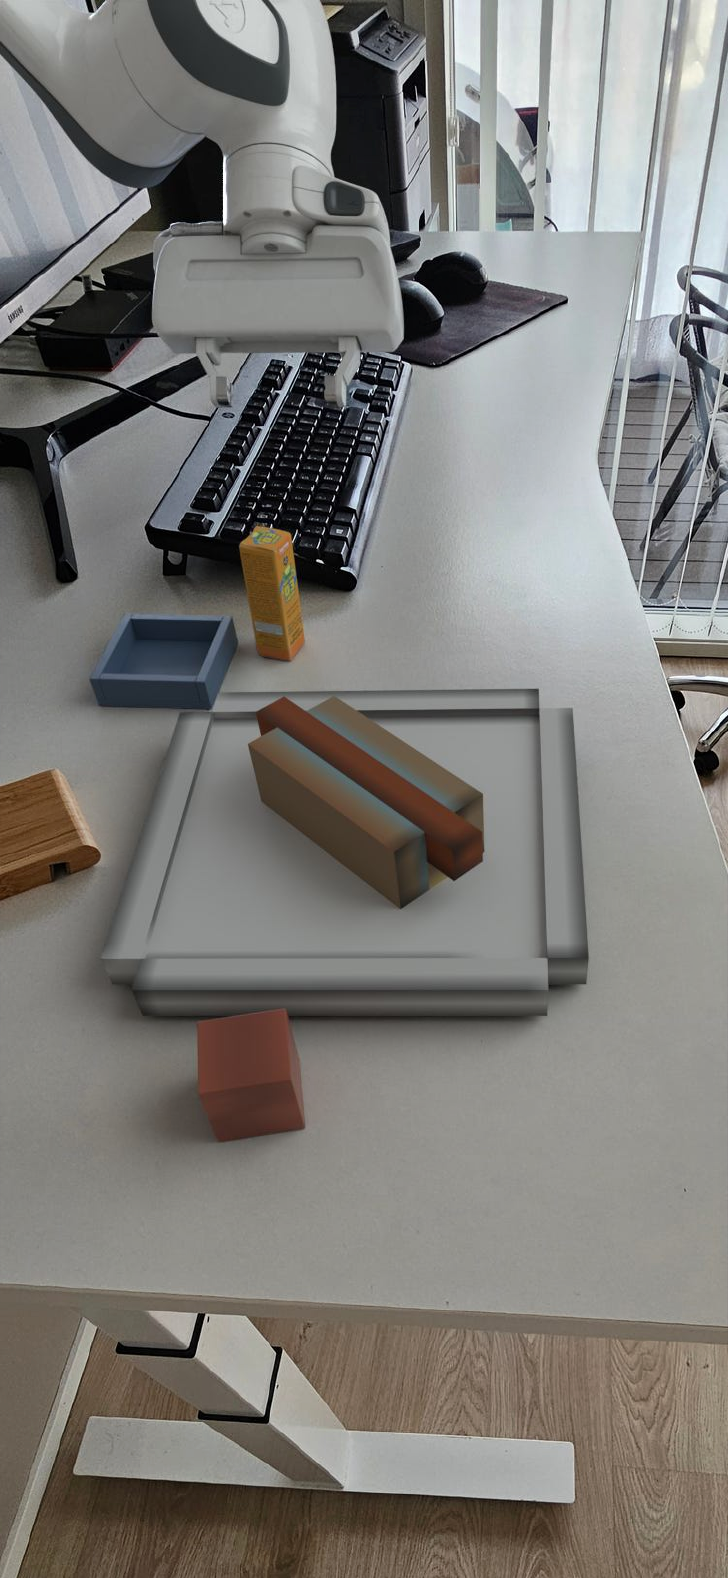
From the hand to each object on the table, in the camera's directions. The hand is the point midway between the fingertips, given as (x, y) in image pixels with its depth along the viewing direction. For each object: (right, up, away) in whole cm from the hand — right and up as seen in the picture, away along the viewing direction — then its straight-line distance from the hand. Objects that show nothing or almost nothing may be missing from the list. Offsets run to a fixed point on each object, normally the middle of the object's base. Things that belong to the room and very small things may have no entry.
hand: (278, 404), depth 85 cm
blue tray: (-10, -21, +3) cm, 23 cm away
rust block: (+3, -55, -24) cm, 60 cm away
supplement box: (0, -19, +5) cm, 19 cm away
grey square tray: (+8, -39, -11) cm, 41 cm away
